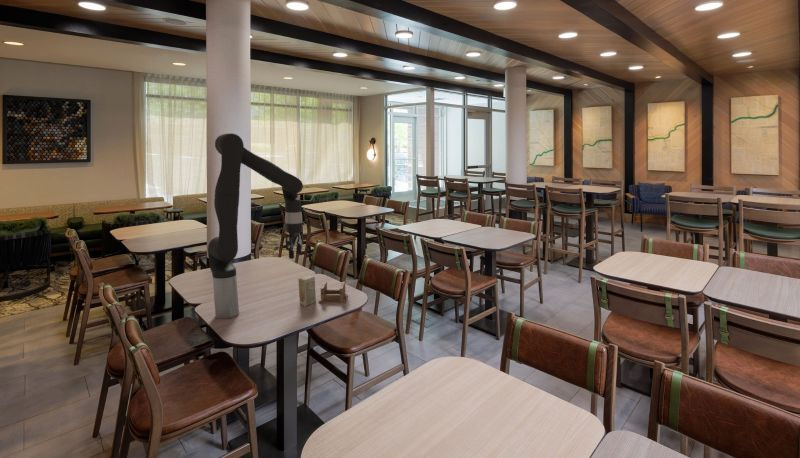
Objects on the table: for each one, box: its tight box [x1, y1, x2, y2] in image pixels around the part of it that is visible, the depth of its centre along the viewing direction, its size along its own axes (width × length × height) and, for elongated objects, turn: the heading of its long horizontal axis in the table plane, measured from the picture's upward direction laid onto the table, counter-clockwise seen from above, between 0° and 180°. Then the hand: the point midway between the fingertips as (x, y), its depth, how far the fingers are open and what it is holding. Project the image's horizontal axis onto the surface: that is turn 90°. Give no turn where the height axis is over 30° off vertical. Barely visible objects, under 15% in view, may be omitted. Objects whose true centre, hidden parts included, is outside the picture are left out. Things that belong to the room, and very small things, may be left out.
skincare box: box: [297, 274, 317, 307], centre depth 195 cm, size 6×4×12 cm
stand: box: [318, 281, 349, 304], centre depth 201 cm, size 10×12×7 cm
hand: (295, 256), depth 199 cm, fingers open, 8 cm apart
